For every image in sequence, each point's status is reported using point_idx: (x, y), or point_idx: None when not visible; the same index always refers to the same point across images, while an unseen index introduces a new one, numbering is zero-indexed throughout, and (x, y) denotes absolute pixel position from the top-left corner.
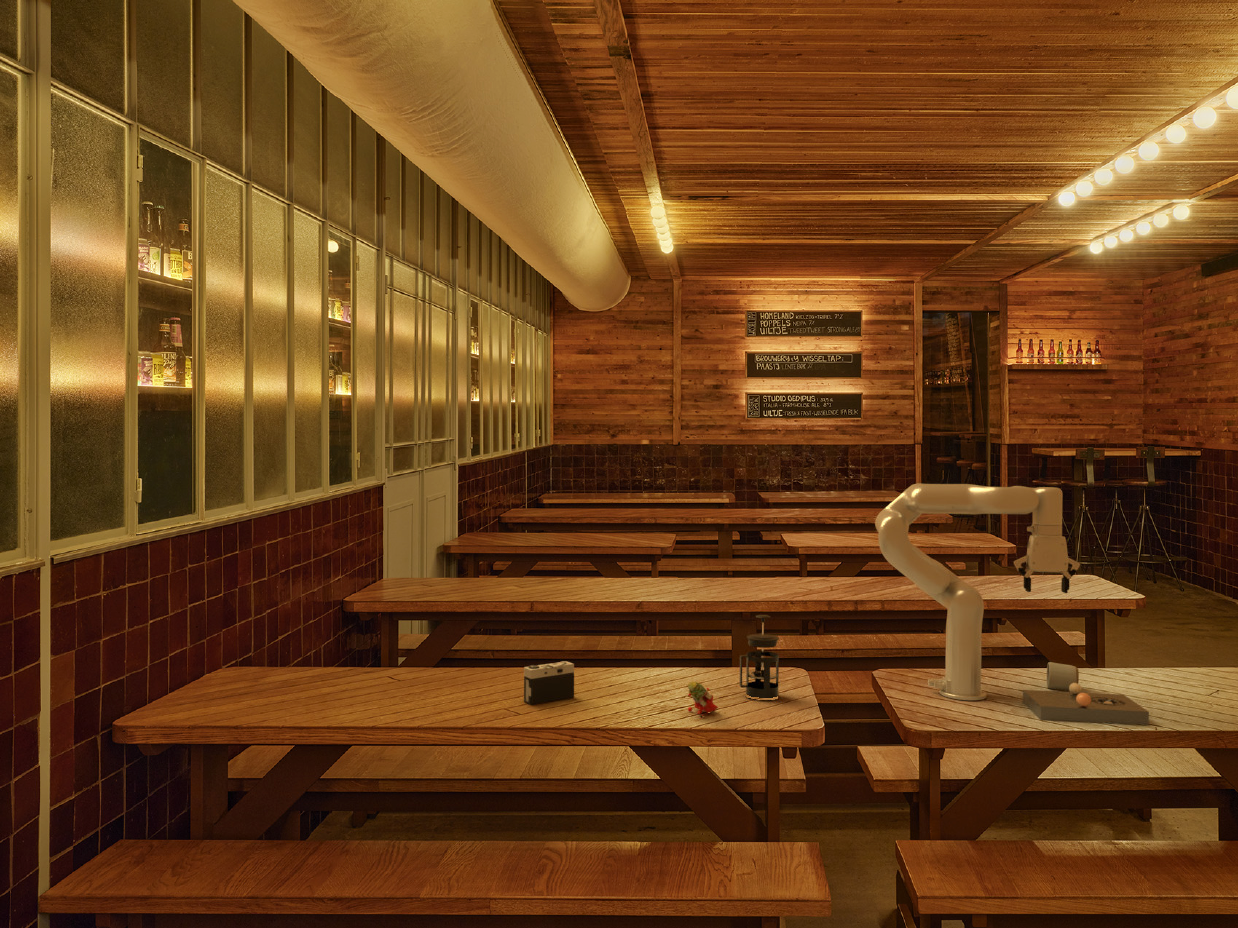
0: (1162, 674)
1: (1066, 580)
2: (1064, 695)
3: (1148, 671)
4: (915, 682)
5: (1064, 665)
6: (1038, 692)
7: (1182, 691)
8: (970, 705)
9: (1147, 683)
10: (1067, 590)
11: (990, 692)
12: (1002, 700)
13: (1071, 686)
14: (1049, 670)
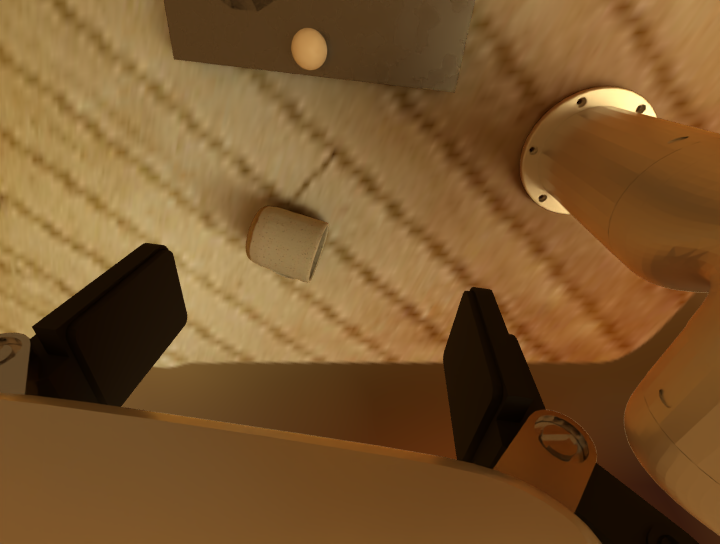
0: None
1: (63, 315)
2: (353, 23)
3: None
4: (625, 270)
5: (276, 250)
6: (421, 58)
7: (50, 224)
8: (639, 29)
9: None
10: (133, 251)
11: (485, 189)
12: (498, 105)
13: (321, 42)
14: (320, 238)
